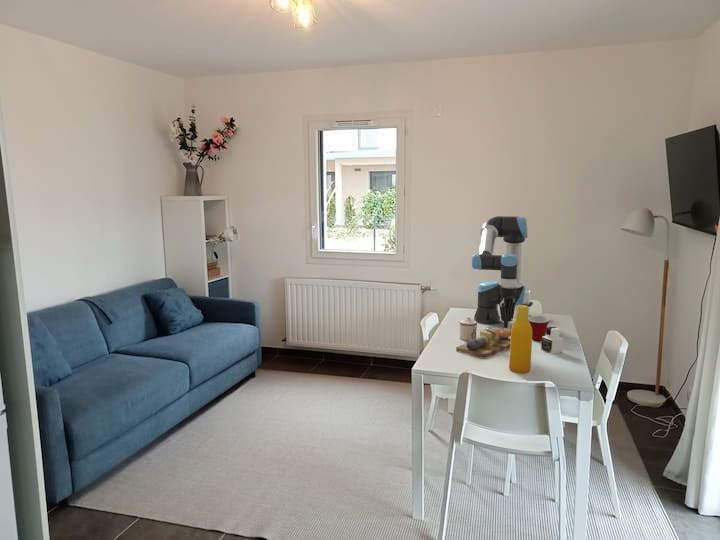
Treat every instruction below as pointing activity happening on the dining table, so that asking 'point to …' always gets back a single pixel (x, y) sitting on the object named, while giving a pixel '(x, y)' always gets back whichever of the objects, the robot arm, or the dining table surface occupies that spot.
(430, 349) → the dining table surface
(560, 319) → the dining table surface
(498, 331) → the valve lever
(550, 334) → the medicine bottle
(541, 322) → the plastic cup
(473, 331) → the teacup with lid
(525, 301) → the candle holder
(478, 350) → the pipe valve
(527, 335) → the beer bottle
